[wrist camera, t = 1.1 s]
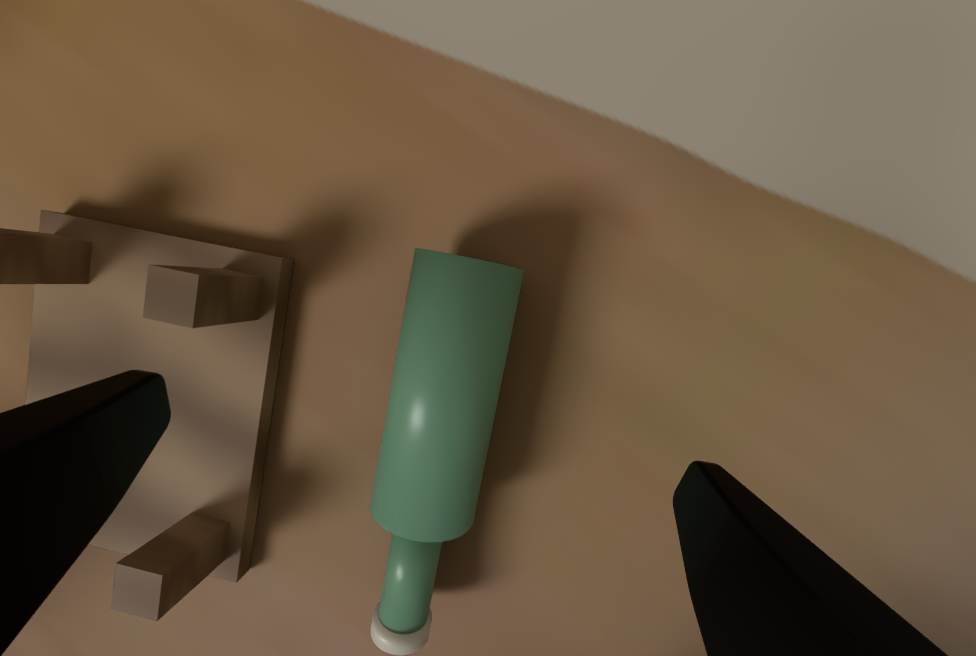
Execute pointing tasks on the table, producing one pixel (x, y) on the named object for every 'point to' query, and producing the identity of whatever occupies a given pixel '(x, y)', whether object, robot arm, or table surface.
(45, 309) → the cradle
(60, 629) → the table surface
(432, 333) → the bottle
